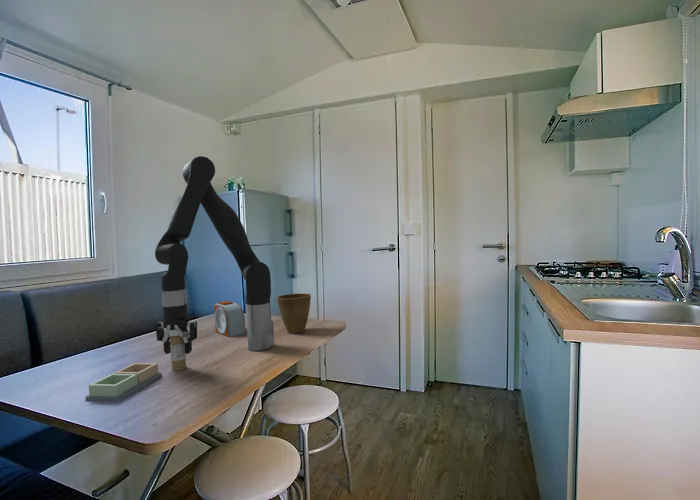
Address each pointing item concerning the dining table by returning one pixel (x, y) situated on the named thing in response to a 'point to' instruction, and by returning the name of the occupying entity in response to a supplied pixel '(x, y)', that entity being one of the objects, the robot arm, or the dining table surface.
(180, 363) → the sprinkles bottle
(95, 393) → the socket board
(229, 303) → the alarm clock
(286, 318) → the plant pot
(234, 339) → the dining table surface
